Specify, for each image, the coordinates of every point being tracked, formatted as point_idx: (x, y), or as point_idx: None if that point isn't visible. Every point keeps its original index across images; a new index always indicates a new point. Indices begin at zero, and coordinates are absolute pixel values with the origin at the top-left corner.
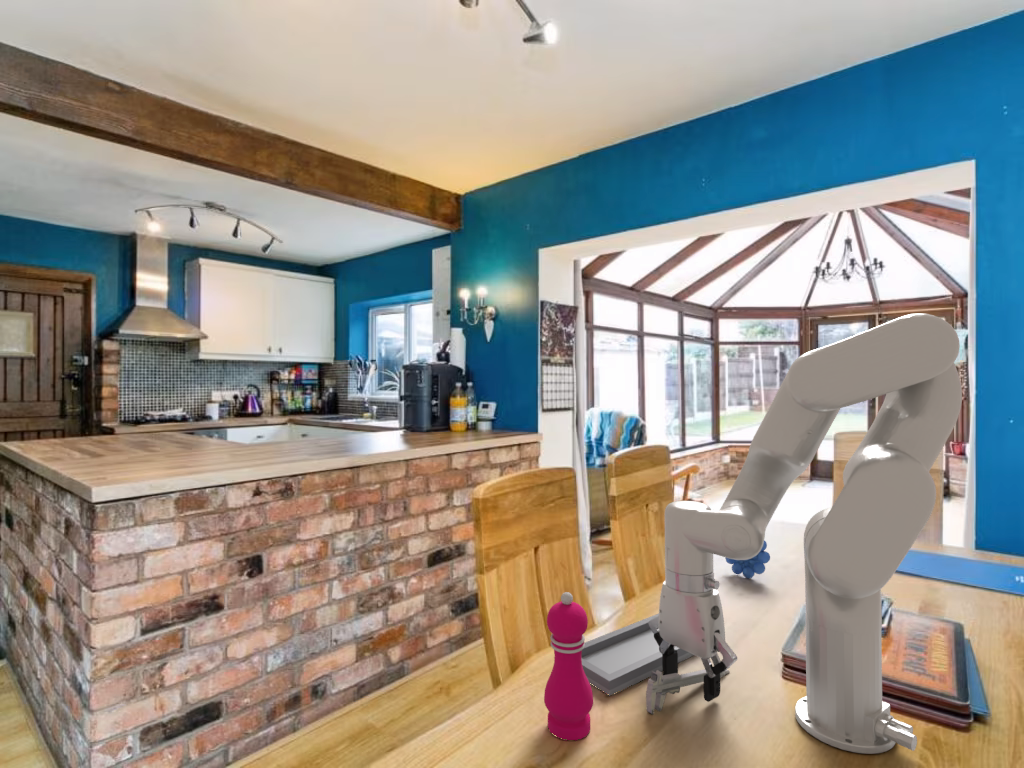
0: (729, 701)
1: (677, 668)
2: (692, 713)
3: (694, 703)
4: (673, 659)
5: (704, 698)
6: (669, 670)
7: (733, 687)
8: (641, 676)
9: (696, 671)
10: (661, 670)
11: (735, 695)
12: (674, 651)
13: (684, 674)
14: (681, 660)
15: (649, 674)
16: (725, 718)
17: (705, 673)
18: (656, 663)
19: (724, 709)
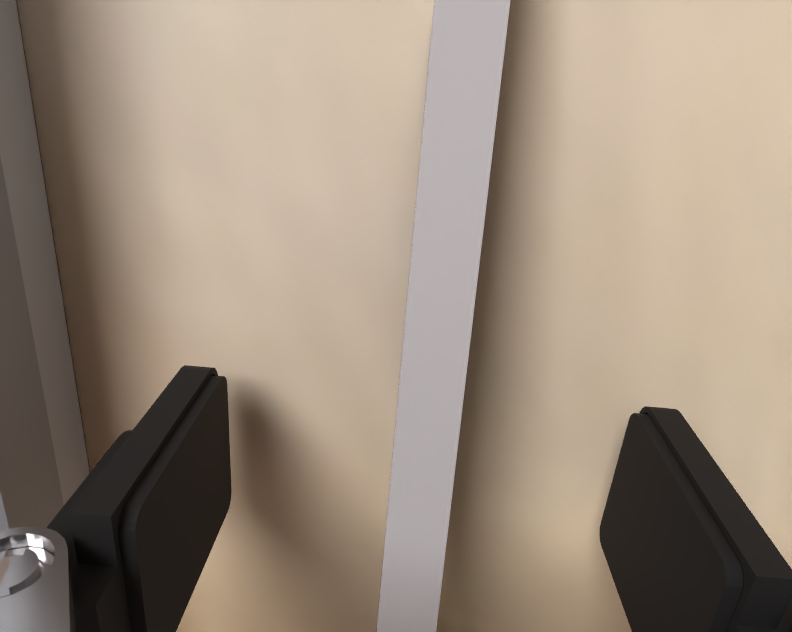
0: (729, 336)
1: (210, 405)
2: (567, 613)
3: (523, 525)
4: (171, 534)
5: (603, 539)
6: (209, 517)
7: (684, 91)
8: None
9: (403, 389)
10: (65, 344)
11: (746, 214)
12: (111, 554)
13: (392, 584)
14: (14, 26)
15: (78, 485)
16: (770, 532)
17: (470, 310)
18: (26, 453)
19: (730, 452)
